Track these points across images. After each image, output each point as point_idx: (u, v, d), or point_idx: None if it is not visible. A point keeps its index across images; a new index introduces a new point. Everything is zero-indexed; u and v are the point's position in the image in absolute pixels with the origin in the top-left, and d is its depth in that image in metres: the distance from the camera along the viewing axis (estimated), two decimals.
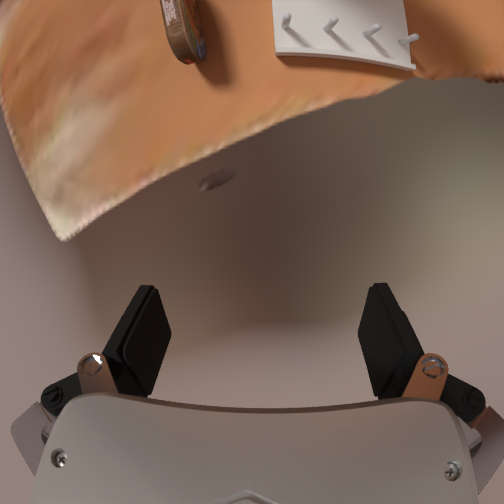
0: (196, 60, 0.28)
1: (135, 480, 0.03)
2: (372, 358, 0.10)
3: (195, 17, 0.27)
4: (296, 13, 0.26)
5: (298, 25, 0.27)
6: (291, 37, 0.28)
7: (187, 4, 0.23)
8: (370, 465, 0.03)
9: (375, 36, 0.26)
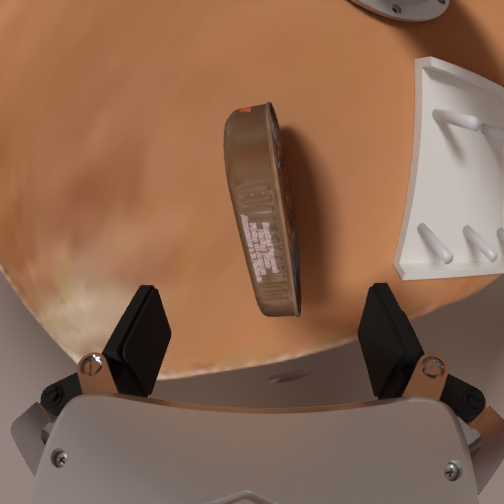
0: None
1: (135, 480, 0.03)
2: (372, 358, 0.10)
3: (284, 189, 0.20)
4: (442, 203, 0.19)
5: (437, 225, 0.20)
6: (423, 245, 0.21)
7: (280, 184, 0.17)
8: (370, 465, 0.03)
9: None
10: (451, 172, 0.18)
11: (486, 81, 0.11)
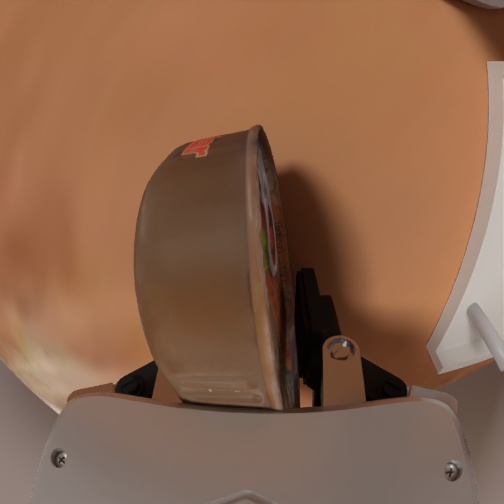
0: None
1: (135, 480, 0.03)
2: (298, 340, 0.11)
3: None
4: (501, 274, 0.11)
5: (490, 302, 0.12)
6: (469, 327, 0.13)
7: (277, 294, 0.09)
8: (370, 465, 0.03)
9: None
10: None
11: None
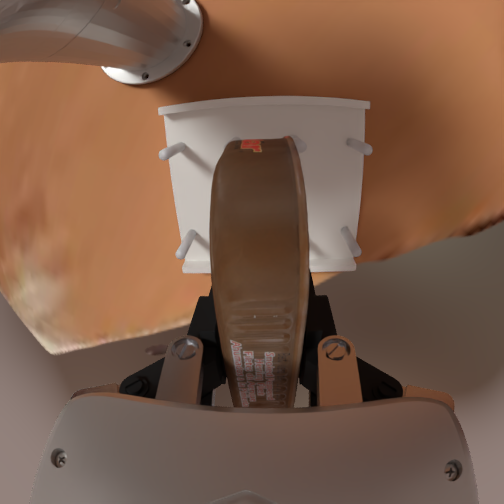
0: None
1: (135, 480, 0.03)
2: None
3: None
4: (204, 212, 0.30)
5: (207, 230, 0.31)
6: (200, 246, 0.32)
7: None
8: (370, 465, 0.03)
9: (308, 231, 0.30)
10: (205, 187, 0.28)
11: (218, 101, 0.22)
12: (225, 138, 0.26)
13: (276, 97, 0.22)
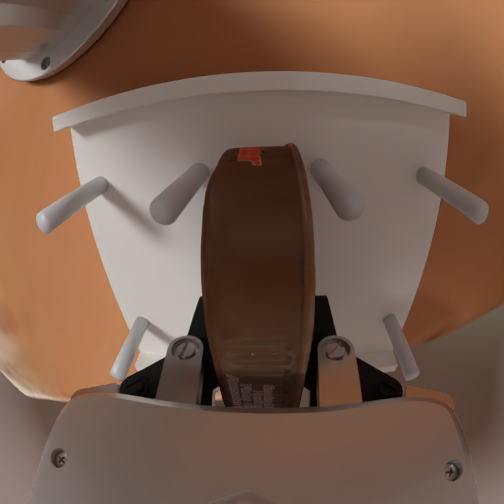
0: None
1: (135, 480, 0.03)
2: None
3: None
4: (155, 295, 0.17)
5: (164, 320, 0.18)
6: (158, 339, 0.19)
7: None
8: (370, 465, 0.03)
9: None
10: (150, 256, 0.15)
11: (154, 90, 0.09)
12: (177, 166, 0.12)
13: (284, 74, 0.09)
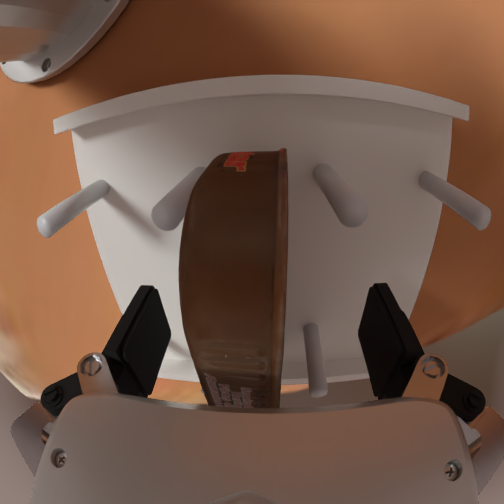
0: None
1: (135, 480, 0.03)
2: (372, 358, 0.10)
3: None
4: None
5: None
6: None
7: None
8: (370, 465, 0.03)
9: (333, 328, 0.17)
10: (151, 260, 0.15)
11: (155, 93, 0.09)
12: (178, 170, 0.12)
13: (286, 78, 0.09)
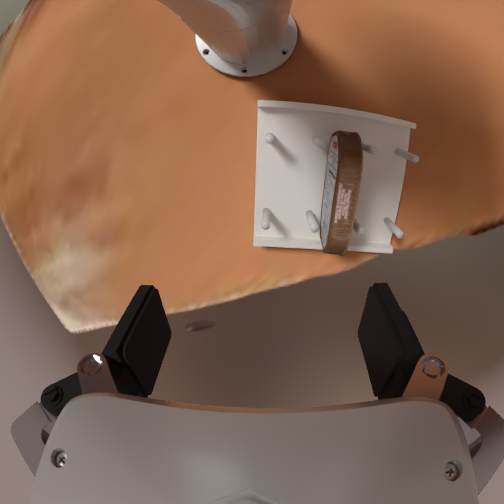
0: None
1: (135, 480, 0.03)
2: (372, 358, 0.10)
3: None
4: (280, 194, 0.35)
5: (280, 209, 0.36)
6: (271, 223, 0.37)
7: None
8: (370, 465, 0.03)
9: (360, 218, 0.36)
10: (285, 172, 0.33)
11: (310, 105, 0.28)
12: (307, 135, 0.31)
13: (353, 110, 0.28)
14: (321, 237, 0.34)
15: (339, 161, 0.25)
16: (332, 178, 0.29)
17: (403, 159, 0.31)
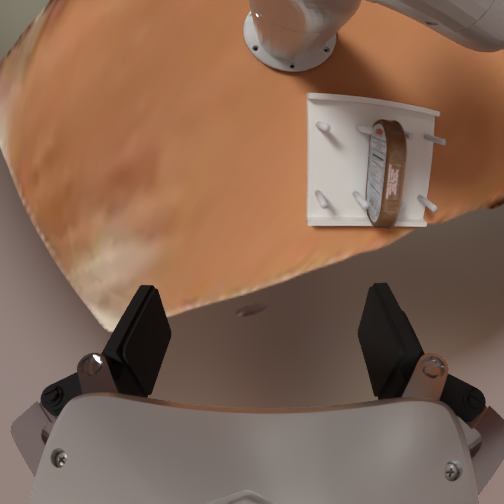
0: None
1: (135, 480, 0.03)
2: (372, 358, 0.10)
3: None
4: (330, 177, 0.37)
5: (330, 191, 0.38)
6: None
7: None
8: (370, 465, 0.03)
9: None
10: (333, 157, 0.35)
11: (353, 97, 0.30)
12: (351, 124, 0.33)
13: (389, 101, 0.29)
14: (369, 214, 0.36)
15: (388, 145, 0.27)
16: (378, 160, 0.31)
17: (430, 143, 0.32)
